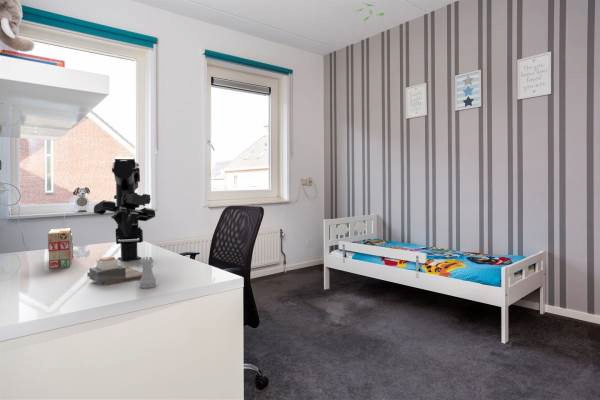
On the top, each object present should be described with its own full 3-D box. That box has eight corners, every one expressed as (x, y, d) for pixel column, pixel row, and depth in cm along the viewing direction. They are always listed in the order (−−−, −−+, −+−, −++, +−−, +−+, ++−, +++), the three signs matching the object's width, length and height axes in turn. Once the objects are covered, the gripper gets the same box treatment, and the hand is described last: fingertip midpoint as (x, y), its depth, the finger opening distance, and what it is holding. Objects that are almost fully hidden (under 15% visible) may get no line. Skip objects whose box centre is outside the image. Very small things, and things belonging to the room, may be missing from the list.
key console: (81, 276, 117) (80, 263, 117) (127, 269, 127) (126, 257, 127) (98, 286, 106) (98, 272, 106) (147, 277, 116) (147, 264, 115)
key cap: (96, 274, 111) (96, 258, 111) (112, 271, 114) (112, 256, 114) (102, 276, 108) (101, 260, 108) (118, 273, 111) (117, 258, 111)
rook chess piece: (145, 289, 103) (144, 260, 103) (135, 287, 106) (134, 258, 105) (159, 285, 107) (159, 257, 106) (150, 283, 109) (149, 255, 109)
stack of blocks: (54, 258, 147) (53, 226, 147) (73, 256, 150) (72, 225, 150) (48, 269, 129) (47, 232, 128) (70, 267, 131) (69, 231, 131)
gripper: (112, 176, 118) (113, 224, 113) (164, 189, 133) (166, 232, 128) (92, 189, 123) (92, 235, 118) (144, 199, 138) (146, 241, 133)
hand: (126, 235), depth 124 cm, fingers closed
